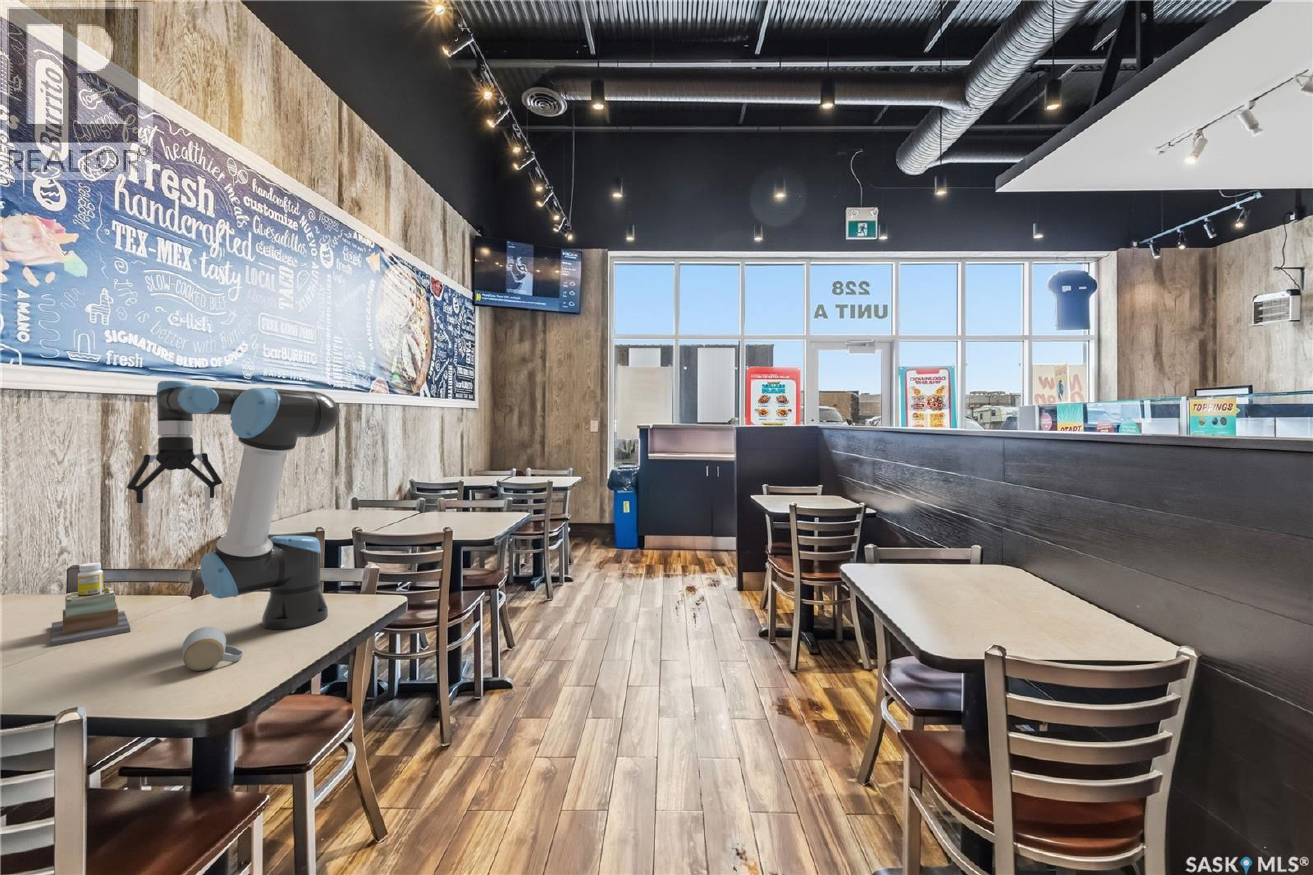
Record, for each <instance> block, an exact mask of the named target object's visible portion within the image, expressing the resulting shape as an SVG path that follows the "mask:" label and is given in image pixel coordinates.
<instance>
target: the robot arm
mask: <svg viewBox="0 0 1313 875" xmlns="http://www.w3.org/2000/svg"><path fill="white" fill-rule="evenodd" d="M156 386H157V389H156V394H155V395H156V402H157V403H156V404H157V405H156V406H157V409H156V410H157V411H156V412H157V435H158V436H160V437H158V439H157V454H156V455H151V454H146V453H145V454H143V455H142V460H141V464H140V465H139V467H138V468H137V470H135V473H134V474H133V476H132V477H131V479H130V480H129V482H128V483H127V485H126V488H127V489H128V490H130V491H131V490H132V491H134V492H135V498H136V499H135V500H136V501H135V502H136V503H137V504H141V515H142V516H143V517H144V516H148V491H147V490H145V488H147V487H148V486H149V485H150V484H151V483H152V482H153V481H154V480H155V479H156V478H157V477H158V476H160V474H161V473H163V472H164V471H165V470H167V471H174V470H186V469H188V470H189V471H190V472H191V473H192V474H193V475H195V476H196V477H197V478H198V479H200V481H202V482H203V483H204V484H205V485H206V487H205V486H204V489H203V491H204V510H205V511H211V499H213V498H215V487H216V486H218V485H222V484H223V480H222V479H221V478H220V476H219V474H218V473H217V471H216V470H215V468H214V467H213V466H212V464H211V463H210V461H209V456H208V453H206V452H201V453H196V454H195V452H194V438H193V437H191V436H192V435H194V428H193V427H194V426H193V420H194V419H193V415H222V416H223V415H225V416H226V415H227V416H229V415H230V421H231V423H230V427H231V430H232V431H233V433H234V434H235V435H236V436H238V438H237V440H238V442H239V443H240V444H241V445H242V446H243V447H244V448H243V452H242V457H241V462H240V466H239V471H238V477H237V480H236V485H235V492H234V495H233V500H232V506H231V511H230V514H229V520H228V524H227V528H226V533H225V535H224V536H222V537H220V538H219V539H218V540H217V542H216V546H215V549H214V551H209V552H207V553H205V554H204V555H203V556H202V558H201V559H200V563H199V565H200V566H199V568H200V570H199V571H200V576H201V579H202V580H201V581H202V582H203V585H204V587H205V589H206V591H207V593H209V595H211V596H212V597H213V598H216V599H219V600H220V599H226V598H231V597H232V598H233V597H234V598H237V597H238V596H243V595H247V594H251V593H256V592H259V591H264V590H269V591H270V592H269V598H268V601H267V603H266V606H265V609H264V612H263V614H262V618H261V620H262V621H261V622H262V625H261V626H262V627H263V628H265V629H269V630H287V629H295V628H296V629H297V628H301V627H306V626H310V625H314V624H317V623H319V622H322V621H324V620H325V619H327V618H328V616H329V614H328V612H329V609H328V605H327V603H326V601H325V600H326V599H325V598H324V594H323V591H322V590H321V554H322V551H321V543H320V540H319V539H318V538H317V537H315V536H309V535H275V536H271V537H270V538H269V534H270V529H271V524H272V521H273V515H274V511H275V507H276V502H277V498H278V495H279V494H278V493H279V488H280V483H281V480H282V474H283V471H284V467H285V462H286V458H287V454H288V453H289V452H291V451H293V450H294V449H295V448H296V446H297V443H298V442H297V441H298V439H299V438H315V437H320V436H322V435H323V436H324V435H325V434H327V433H329V432H330V431H332V430H334V428H335V427H336V426H337V424H338V422H339V419H340V409H339V406H338V404H337V403H336V402H335V400H334V399H332V397H330V396H329V395H327V394H324V393H322V392H318V391H314V390H313V391H312V390H311V391H309V390H296V389H295V390H294V389H281V388H272V387H264V388H263V387H262V388H261V387H260V388H258V387H252V388H248V389H242V388H227V387H226V388H225V387H212V386H211V387H210V386H207V385H201V384H200V385H199V384H198V385H197V384H195V385H194V384H191V382H189V381H185V380H184V381H183V380H161V381H159V382H158V383H157V385H156ZM195 459H197V460H198V461H199V462H201V463H202V465H203V467H204V468H205V469H206V471H207V472H208V474H209V476H210V478H212V480H213V481H212V480H210V479H209V477H207V476H206V475H205V474H204V473H203V472H202V471H200V470H199V469H198V468H197V466H195V465H194V464H193V462H194V461H195ZM154 460H156V461H157V462H158V463H159V465H158V466H157V467H156V468H155V470H153V471H152V472H151V473H150V474H149V475H148V476H147V477H146V478H145V479H144V480H143V481H141V483H139V485H137V484H138V482H139V480H141V477H142V475H144V472H145V471H146V469H147V468H148V467H149V465H150V463H153V461H154Z"/></svg>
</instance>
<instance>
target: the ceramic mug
mask: <svg viewBox="0 0 1313 875" xmlns="http://www.w3.org/2000/svg"><path fill="white" fill-rule="evenodd" d="M243 655H244V651H242V649H240V648H238V647H235V646H233V645H228V644H227V637H226V635H225V633H224V632H223V631H222V630H221V629H220V628H218V627H213V626H203V627H199V628H196V629H195V630H193V631H192V632H190V633H189V634H188V635H187V636H186V638H185V639H184V641H183V643H182V662H183V663H184V665H185V666H186V667H187V669H189V670H192V671H203V672H204V671H208V670H210V669H212V668H214V667H215V666H216V665H217V666H218V664H219V663H220V662H221V661H222V662H226V663H227V662H229V663H235V662H240V660H241V658H242V657H243Z"/></svg>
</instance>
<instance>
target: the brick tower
mask: <svg viewBox="0 0 1313 875" xmlns="http://www.w3.org/2000/svg"><path fill="white" fill-rule="evenodd" d="M103 591H104V593H103V594H100V595H93V596H86V597H79V598H78V591H75V592H74V591H73V592H66V593H65V594H66V596H65V603H64V604H65V605H64V606H65V607H64V608H65V609H62V620H61V621H60V620H59V621H54V622H51V630H50V631H51V632H50V636H51V638H50V643H51V644H50V645H51V646H50V647H56V646H61V645H66V644H71V643H77V642H76V641H78V642H82V641H88V640H89V641H90V640H94V639H98V638H103V637H102V636H105V637H110V636H115V634H116V635H120V634H119V633H121V634H125V633H124V632H126V633H130V632H131V625H130V623H129V621H128V618H127V615H126V612H125V610H121V611H119V608H118V605H117V603H116V602H117V601H116V595H115V591H114V588H113V586H110V587H103Z"/></svg>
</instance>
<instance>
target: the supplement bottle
mask: <svg viewBox="0 0 1313 875" xmlns="http://www.w3.org/2000/svg"><path fill="white" fill-rule="evenodd" d="M103 588H104V570H102V563H101V562H88V563H87V562H86V563H83V564H79V573H77V592H78V598H79V597H86V596H93V595H100V594H103V593H104V591H103Z"/></svg>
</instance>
